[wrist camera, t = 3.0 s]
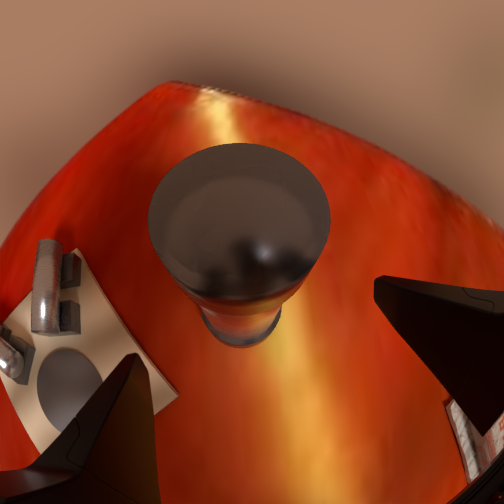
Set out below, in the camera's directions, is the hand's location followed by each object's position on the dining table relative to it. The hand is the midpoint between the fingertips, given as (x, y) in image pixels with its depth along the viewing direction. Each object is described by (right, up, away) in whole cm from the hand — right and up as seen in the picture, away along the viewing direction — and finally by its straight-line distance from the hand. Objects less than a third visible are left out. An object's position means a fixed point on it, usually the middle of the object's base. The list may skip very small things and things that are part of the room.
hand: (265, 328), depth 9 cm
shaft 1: (-22, -7, +7) cm, 24 cm away
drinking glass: (-1, -2, +10) cm, 11 cm away
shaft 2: (-16, -2, +10) cm, 19 cm away
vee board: (-16, -7, +7) cm, 19 cm away
